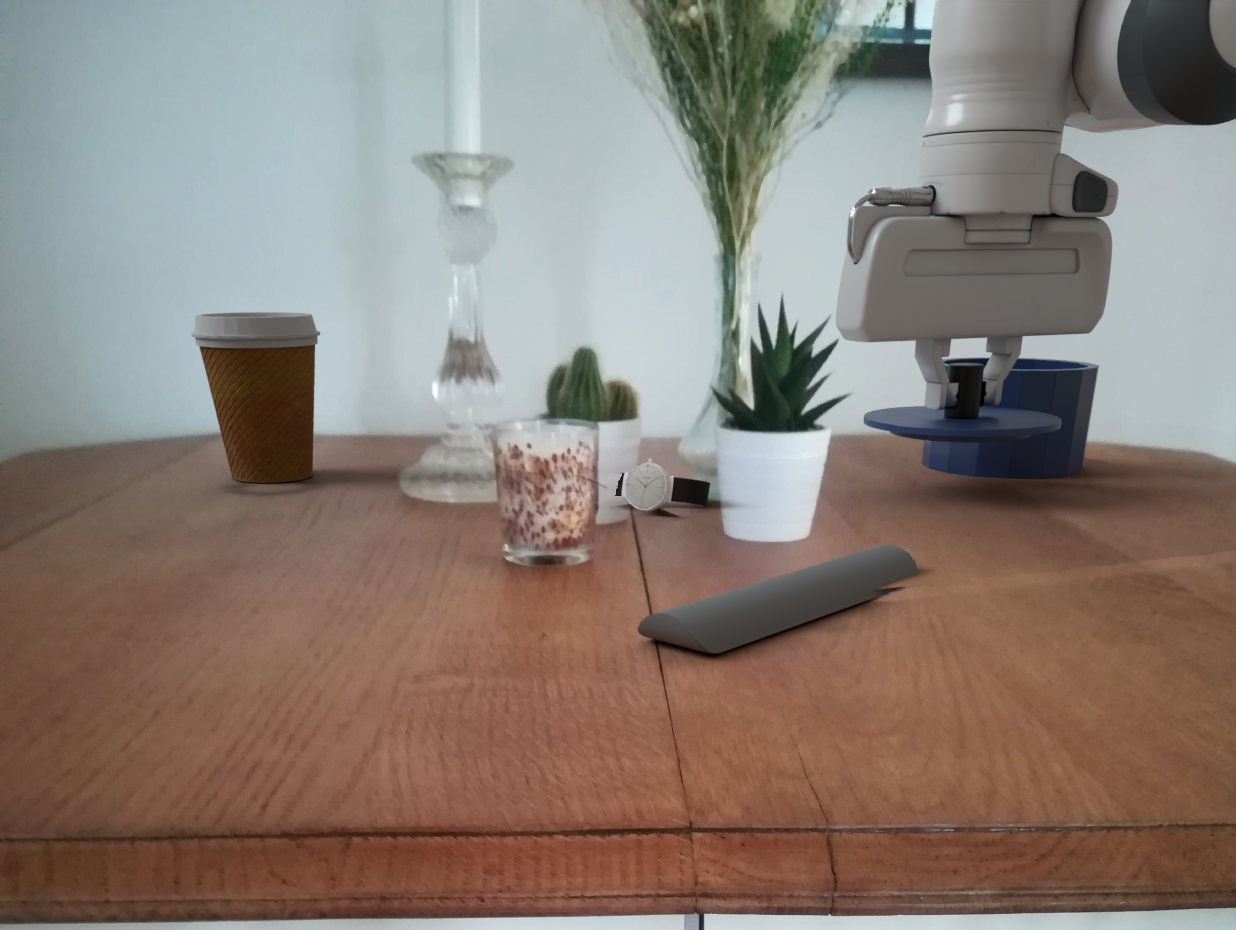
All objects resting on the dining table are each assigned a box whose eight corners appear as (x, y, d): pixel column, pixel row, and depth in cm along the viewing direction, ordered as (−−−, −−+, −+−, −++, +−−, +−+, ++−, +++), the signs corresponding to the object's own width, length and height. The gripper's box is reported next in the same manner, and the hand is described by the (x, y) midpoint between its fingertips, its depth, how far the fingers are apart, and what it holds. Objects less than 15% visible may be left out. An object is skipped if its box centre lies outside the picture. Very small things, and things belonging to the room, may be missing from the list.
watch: (593, 510, 86) (593, 456, 84) (623, 499, 89) (624, 448, 88) (693, 520, 82) (695, 465, 81) (721, 508, 86) (723, 455, 85)
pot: (1011, 457, 108) (1025, 355, 105) (1114, 480, 98) (1134, 367, 94) (892, 466, 104) (902, 359, 100) (986, 490, 93) (1002, 372, 90)
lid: (976, 416, 95) (984, 353, 93) (1102, 438, 84) (1113, 367, 82) (826, 426, 90) (830, 360, 88) (938, 451, 79) (945, 376, 77)
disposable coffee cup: (184, 479, 96) (161, 315, 91) (274, 463, 104) (257, 310, 99) (270, 491, 92) (251, 319, 87) (358, 473, 99) (344, 314, 94)
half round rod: (923, 583, 67) (926, 550, 66) (701, 662, 54) (703, 623, 53) (856, 570, 69) (858, 539, 69) (629, 643, 56) (630, 605, 55)
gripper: (879, 183, 74) (862, 420, 80) (1139, 186, 81) (1105, 404, 87) (825, 187, 79) (812, 410, 85) (1073, 190, 87) (1045, 396, 92)
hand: (962, 407), depth 86 cm, fingers closed on lid, 2 cm apart
